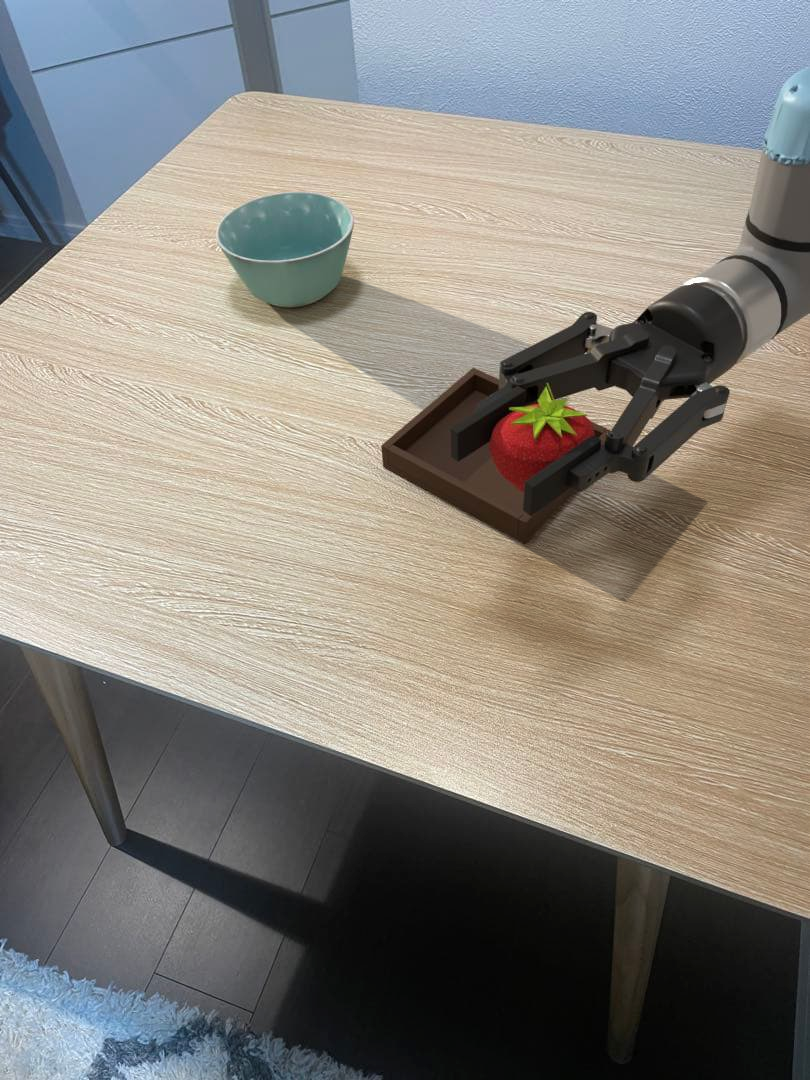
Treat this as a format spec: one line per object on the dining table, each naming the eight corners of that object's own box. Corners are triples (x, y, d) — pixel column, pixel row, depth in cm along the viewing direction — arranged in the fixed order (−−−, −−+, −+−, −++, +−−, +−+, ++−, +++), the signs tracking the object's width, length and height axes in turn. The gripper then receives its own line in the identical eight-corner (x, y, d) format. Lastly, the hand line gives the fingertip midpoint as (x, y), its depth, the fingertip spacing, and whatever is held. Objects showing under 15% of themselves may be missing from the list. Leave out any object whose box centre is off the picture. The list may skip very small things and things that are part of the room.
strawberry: (479, 476, 70) (481, 371, 62) (575, 461, 70) (589, 356, 63) (497, 532, 66) (501, 429, 58) (598, 516, 66) (615, 412, 59)
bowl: (204, 287, 111) (189, 224, 105) (307, 237, 117) (299, 176, 111) (279, 343, 103) (267, 278, 96) (386, 286, 109) (381, 223, 103)
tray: (611, 453, 88) (614, 431, 86) (524, 544, 81) (526, 523, 79) (473, 388, 96) (473, 367, 94) (382, 466, 89) (380, 445, 86)
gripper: (801, 424, 69) (592, 589, 59) (604, 315, 79) (400, 441, 70) (831, 342, 63) (606, 510, 54) (614, 236, 73) (394, 362, 64)
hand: (490, 471), depth 62 cm, fingers closed on strawberry, 6 cm apart
